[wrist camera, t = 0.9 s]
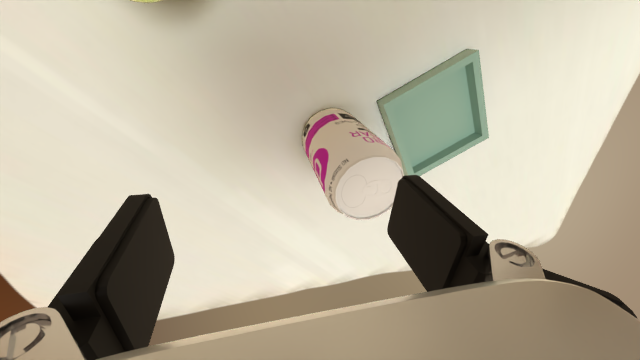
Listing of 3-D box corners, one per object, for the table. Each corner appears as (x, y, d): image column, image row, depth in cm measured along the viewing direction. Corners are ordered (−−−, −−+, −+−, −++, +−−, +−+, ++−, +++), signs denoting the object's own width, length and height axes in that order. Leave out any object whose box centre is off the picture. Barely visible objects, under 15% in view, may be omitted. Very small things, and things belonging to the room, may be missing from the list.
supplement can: (303, 165, 39) (329, 231, 26) (299, 109, 34) (328, 156, 22) (355, 158, 40) (404, 217, 28) (357, 104, 36) (416, 145, 23)
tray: (466, 49, 36) (478, 50, 34) (478, 132, 43) (488, 137, 41) (376, 101, 36) (383, 105, 35) (403, 174, 44) (410, 181, 42)
